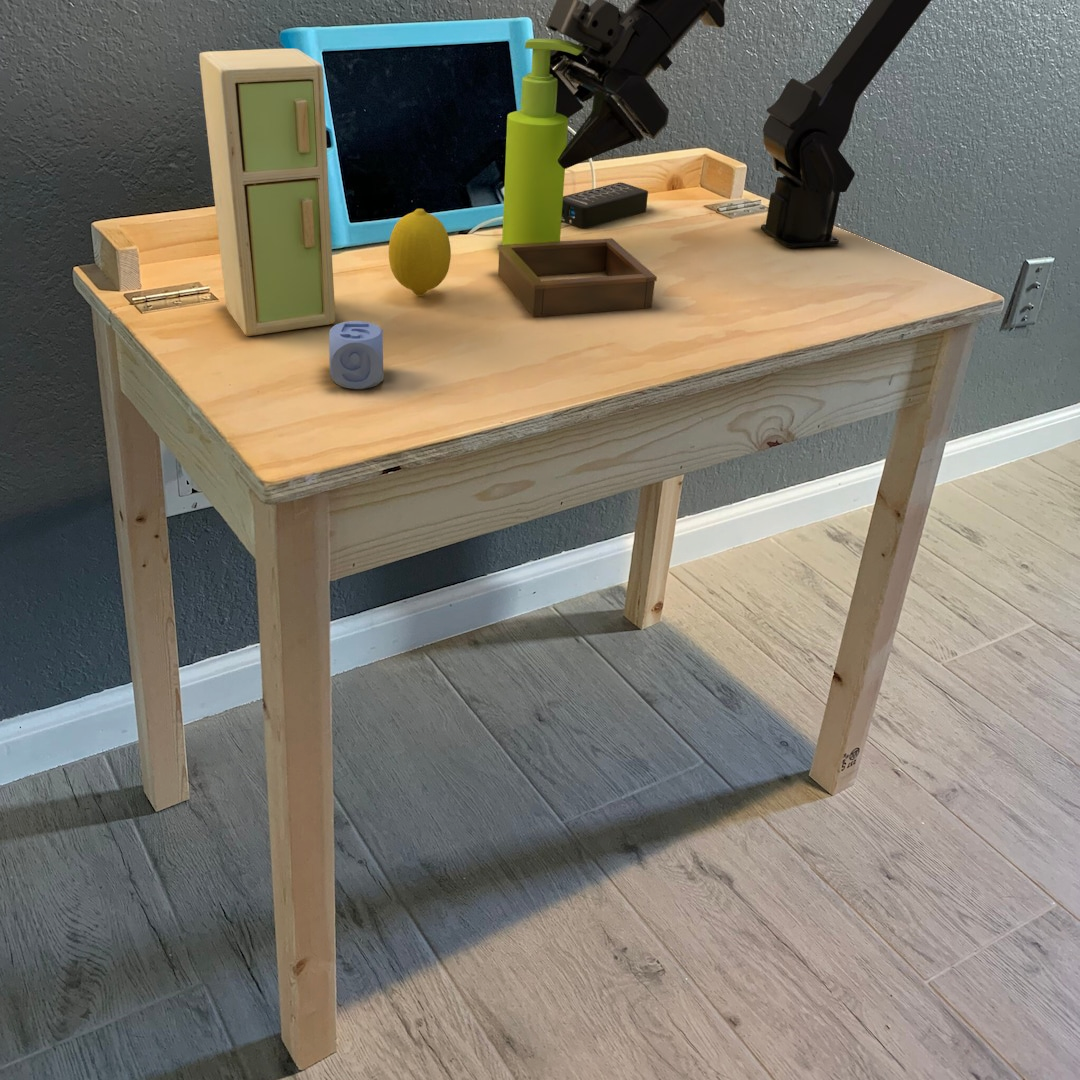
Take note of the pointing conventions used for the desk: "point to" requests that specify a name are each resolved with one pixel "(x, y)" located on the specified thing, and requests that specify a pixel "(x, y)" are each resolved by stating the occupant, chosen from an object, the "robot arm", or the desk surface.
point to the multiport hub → (603, 205)
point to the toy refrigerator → (270, 186)
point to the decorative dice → (356, 354)
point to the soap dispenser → (536, 153)
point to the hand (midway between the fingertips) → (540, 152)
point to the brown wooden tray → (581, 295)
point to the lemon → (419, 252)
